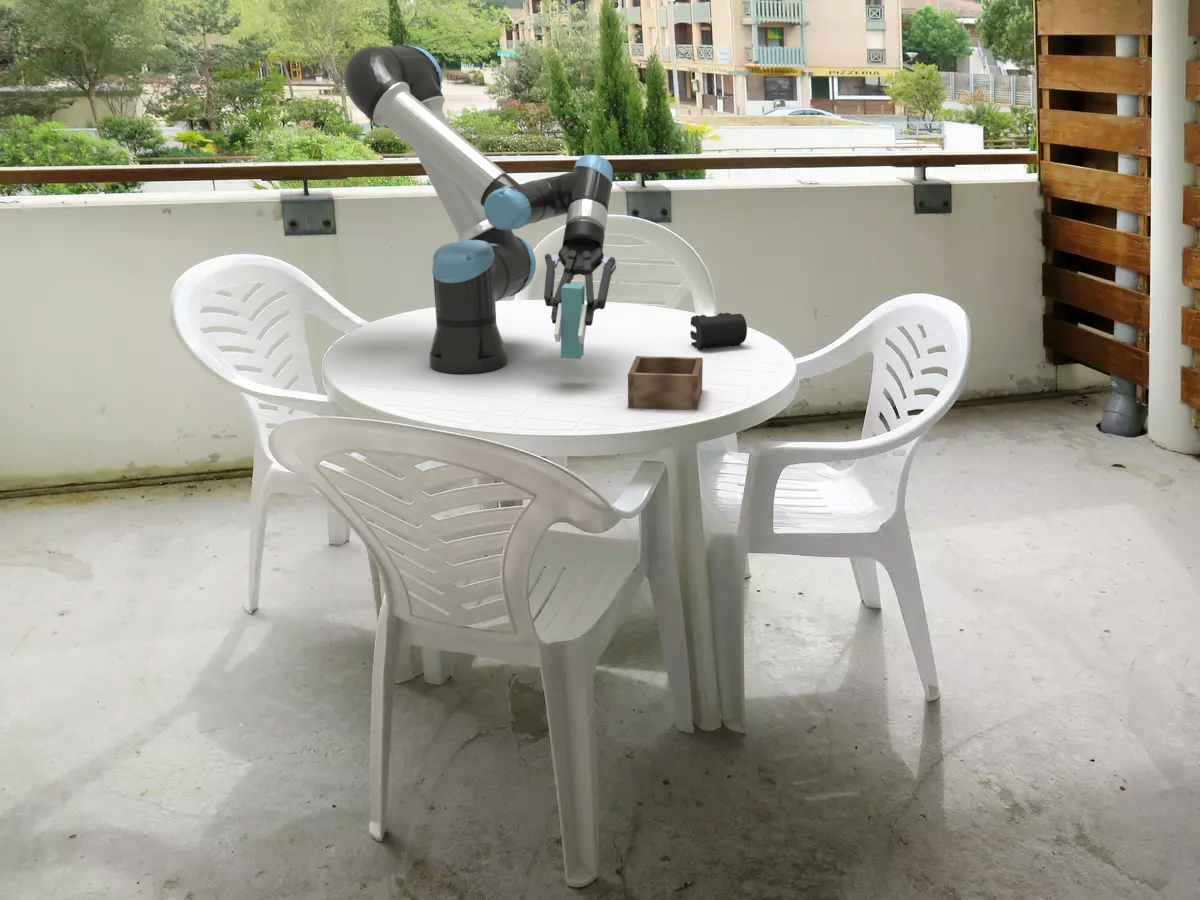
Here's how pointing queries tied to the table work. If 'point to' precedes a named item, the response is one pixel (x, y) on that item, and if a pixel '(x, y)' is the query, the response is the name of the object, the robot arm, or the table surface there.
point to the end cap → (718, 330)
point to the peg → (571, 320)
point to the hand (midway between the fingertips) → (568, 338)
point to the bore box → (665, 382)
